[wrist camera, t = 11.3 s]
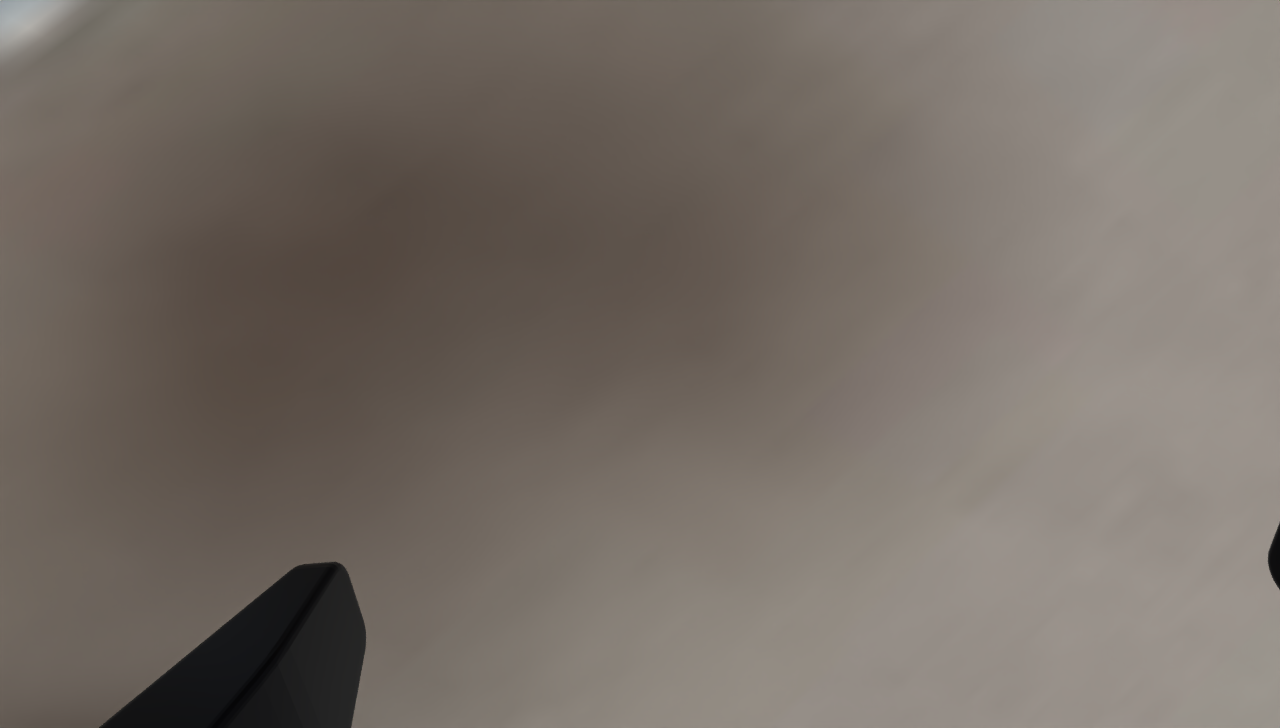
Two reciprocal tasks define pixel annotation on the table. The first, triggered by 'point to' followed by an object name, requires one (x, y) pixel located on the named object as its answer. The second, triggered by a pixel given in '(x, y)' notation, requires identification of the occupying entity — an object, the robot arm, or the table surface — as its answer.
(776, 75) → the table surface
